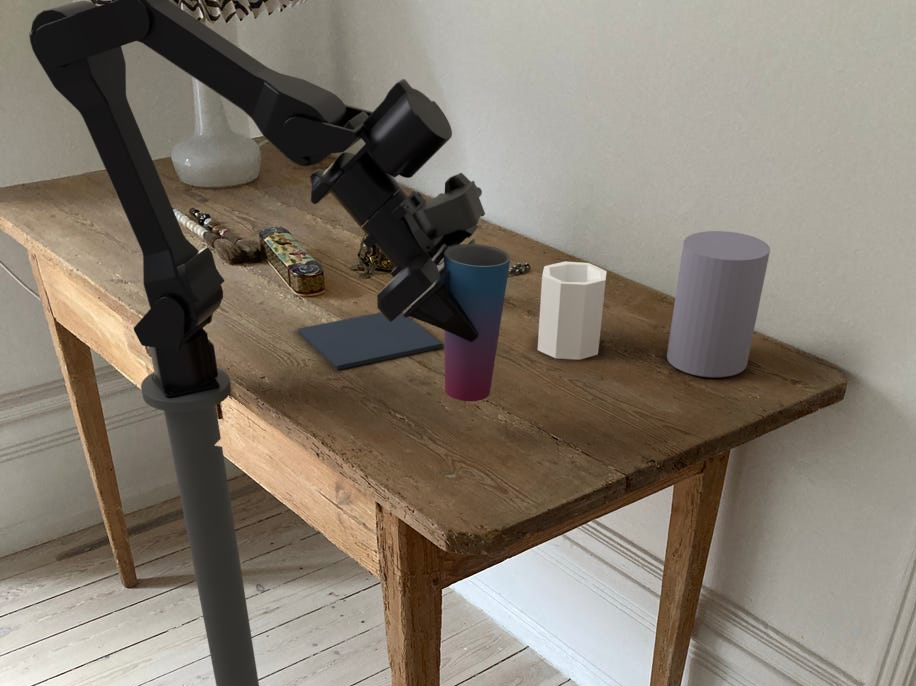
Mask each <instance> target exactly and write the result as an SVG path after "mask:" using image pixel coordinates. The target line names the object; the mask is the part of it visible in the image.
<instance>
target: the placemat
mask: <svg viewBox="0 0 916 686" xmlns="http://www.w3.org/2000/svg"><path fill="white" fill-rule="evenodd" d="M403 313H404V311H403V312H402V313H401V314H400V315H398V316H397V317H396V318H395V319H394V320H393V321H392V322H390V321H389V320H388V319H387V318H386V317H385V316H384V315H383V313H382V312H381V311H380V312H377V313H370V314H366V315H360V316H356V317H350V318H345V319H339V320H335V321H330V322H325V323H320V324H315V325H310V326H304V327H299V328H297V332H298V334H299V335H300V336H301V337H302V338H303V339H304V340H305V341H306V342H307V343H309V345H311V347H312V348H314V349H315V350H316V351H317V352H318V354H320V355H321V356H322V357H323V358H324V359H325V360H326V361H327V362H329V364H330V365H331V366H332V367H333V368H334V369H336V370H337V371H339V370H345V369H349V368H353V367H359V366H364V365H368V364H371V363H377V362H382V361H387V360H391V359H395V358H400V357H405V356H409V355H415V354H419V353H423V352H428V351H432V350H438V349H441V348H443V343H442V342H441V341H440V340H439V339H437V338H436V337H435V336H433V334H431V333H430V332H428V331H427V330H426V329H424V328H423V327H422V326H420V325H419V324H418V323H417V322H415V321H414V320H413V318H411V317H410V316H408V317H407V318H405V317H404V316H403V315H402V314H403Z"/></svg>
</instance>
